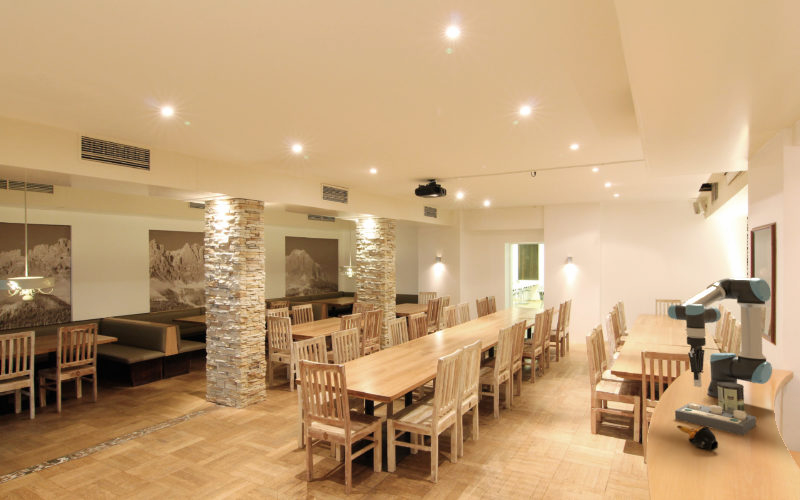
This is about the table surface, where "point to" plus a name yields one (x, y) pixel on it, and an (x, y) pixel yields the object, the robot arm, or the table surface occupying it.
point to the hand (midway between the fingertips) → (697, 386)
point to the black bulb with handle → (701, 437)
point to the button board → (715, 419)
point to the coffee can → (731, 396)
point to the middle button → (716, 409)
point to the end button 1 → (694, 406)
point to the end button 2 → (740, 414)
